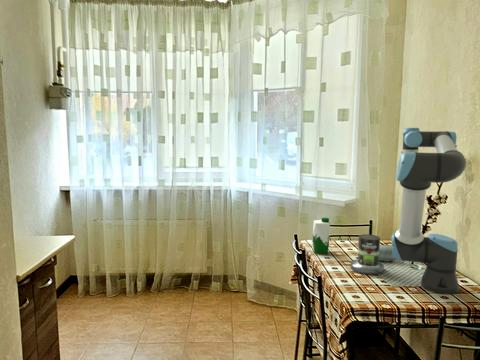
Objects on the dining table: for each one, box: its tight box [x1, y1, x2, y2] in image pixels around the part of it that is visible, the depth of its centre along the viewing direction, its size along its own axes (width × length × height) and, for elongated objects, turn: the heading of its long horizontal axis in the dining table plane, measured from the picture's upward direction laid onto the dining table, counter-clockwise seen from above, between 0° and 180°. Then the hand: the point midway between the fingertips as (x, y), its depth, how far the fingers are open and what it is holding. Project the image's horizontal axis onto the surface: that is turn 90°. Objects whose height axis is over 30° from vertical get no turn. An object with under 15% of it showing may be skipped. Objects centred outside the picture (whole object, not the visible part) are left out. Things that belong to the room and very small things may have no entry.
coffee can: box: [357, 233, 381, 267], centre depth 189 cm, size 10×10×14 cm
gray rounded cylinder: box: [379, 244, 397, 262], centre depth 204 cm, size 14×10×10 cm
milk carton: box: [312, 217, 331, 255], centre depth 217 cm, size 9×9×20 cm
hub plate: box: [350, 259, 385, 276], centre depth 190 cm, size 16×16×3 cm
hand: (407, 198), depth 196 cm, fingers open, 13 cm apart
